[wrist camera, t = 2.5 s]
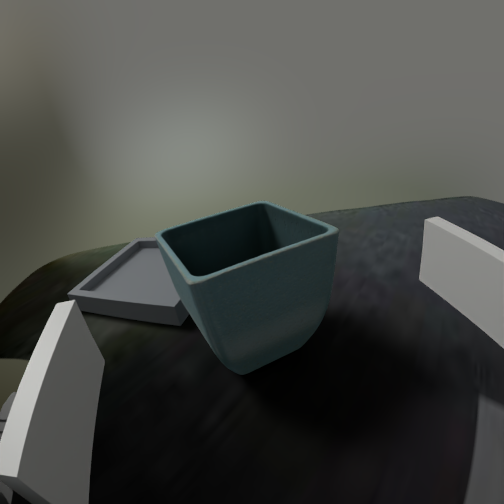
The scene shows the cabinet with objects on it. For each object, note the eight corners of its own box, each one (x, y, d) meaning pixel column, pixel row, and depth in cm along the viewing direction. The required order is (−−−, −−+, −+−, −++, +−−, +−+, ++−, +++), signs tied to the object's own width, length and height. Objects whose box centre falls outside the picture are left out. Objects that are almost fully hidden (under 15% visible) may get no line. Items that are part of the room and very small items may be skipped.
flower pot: (277, 295, 28) (263, 197, 24) (342, 348, 21) (343, 227, 17) (184, 334, 25) (152, 231, 21) (228, 408, 18) (189, 285, 14)
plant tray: (234, 250, 38) (232, 235, 37) (180, 325, 26) (174, 306, 25) (140, 251, 42) (136, 237, 41) (74, 309, 30) (67, 293, 30)
